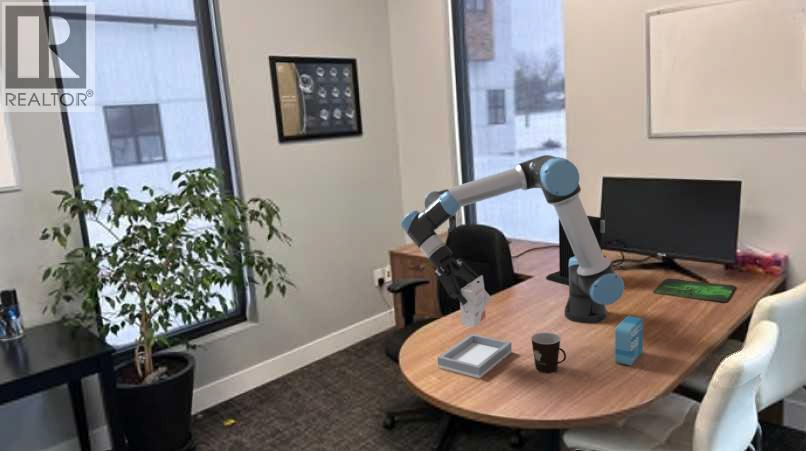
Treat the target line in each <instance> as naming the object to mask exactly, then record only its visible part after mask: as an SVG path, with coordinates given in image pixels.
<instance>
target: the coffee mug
mask: <svg viewBox="0 0 806 451" xmlns="http://www.w3.org/2000/svg"><path fill="white" fill-rule="evenodd" d="M530 338H531V339H530V340H531V345H532V346H531V347H532V353H533V358H534V365H535V370H536V372H539V373H541V374H554V373H556V372H557V371H558V365H559V364H562V363H563V362H564V361H566V359H567V354H566V352H565V350H564V349H562V348H561V346H560V345H561V337H560V335H558V334H556V333H552V332H538V333H535V334H533V335H532V336H530ZM560 352H562V354H563V359H562V360H560V361H559V355H560Z"/></svg>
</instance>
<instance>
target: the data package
mask: <svg viewBox="0 0 806 451" xmlns="http://www.w3.org/2000/svg"><path fill="white" fill-rule="evenodd" d="M643 336H644V320H643V318H640V317H635V316H629V315H627V316H626V317H625V318H624V319H623V320H621V321H620V322H619V324H617V325H616V327H615V329H614V361H615V363H617V364H622V365H627V366H632V365H633V364H634V363H635V361H636V360H637V359H639V357H640V356H641V355H642V353H643V348H644V346H643V343H644V342H643V340H644V337H643Z"/></svg>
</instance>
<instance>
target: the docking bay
mask: <svg viewBox="0 0 806 451" xmlns="http://www.w3.org/2000/svg"><path fill="white" fill-rule="evenodd" d="M512 352H513V351H512V342H511V341H507V340H504V339H503V340H501V339H497V338H492V337H487V336H483V335H479V334H475V333H471V334H470V335H468V336H466V337H465V338H464V339H462V340H460V341H459V342H458V343H456V344H455V345H453V346H452V347H450V348H449V349H448V350H446V351H445V352H443V353H442V354H440V355H439V356H437V366H438V368H439V369H443V370H447V371H451V372H453V373H458V374H461V375H465V376H469V377H472V378H476V379H481V378H482V377H483V376H485V375H486V374H487V373H488V372H490V371H491V370H492V369H493V368H494V367H495V366H497V365H499V363H500V362H502V361H503V360H504V359H505V358H507V356H509V355H510V354H512ZM503 358H504V359H503ZM502 359H503V360H502ZM501 360H502V361H501ZM496 364H497V365H496Z"/></svg>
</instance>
